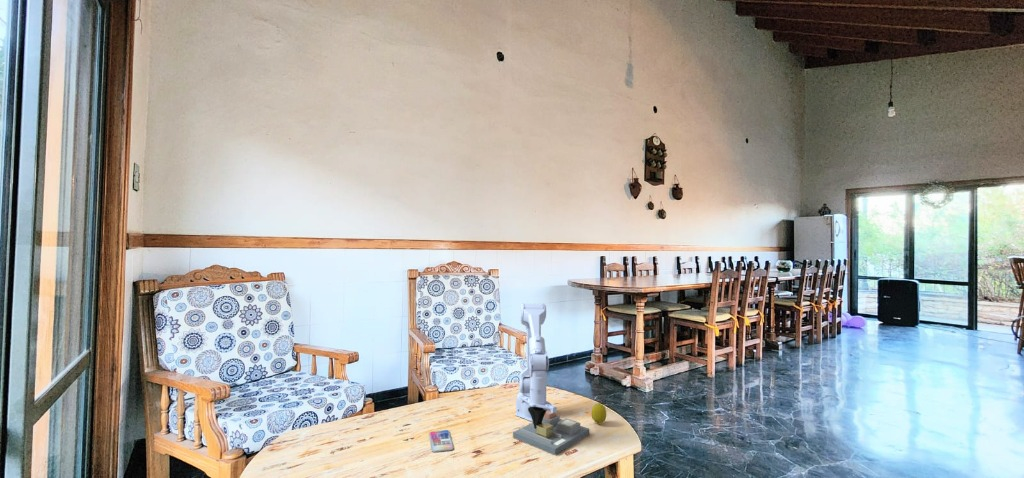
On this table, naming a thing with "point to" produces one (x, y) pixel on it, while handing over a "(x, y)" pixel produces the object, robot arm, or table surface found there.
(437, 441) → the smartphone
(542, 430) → the slider knob
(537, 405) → the robot arm
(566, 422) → the cream button
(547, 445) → the panel
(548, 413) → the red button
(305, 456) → the table surface
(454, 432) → the table surface
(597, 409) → the lemon
